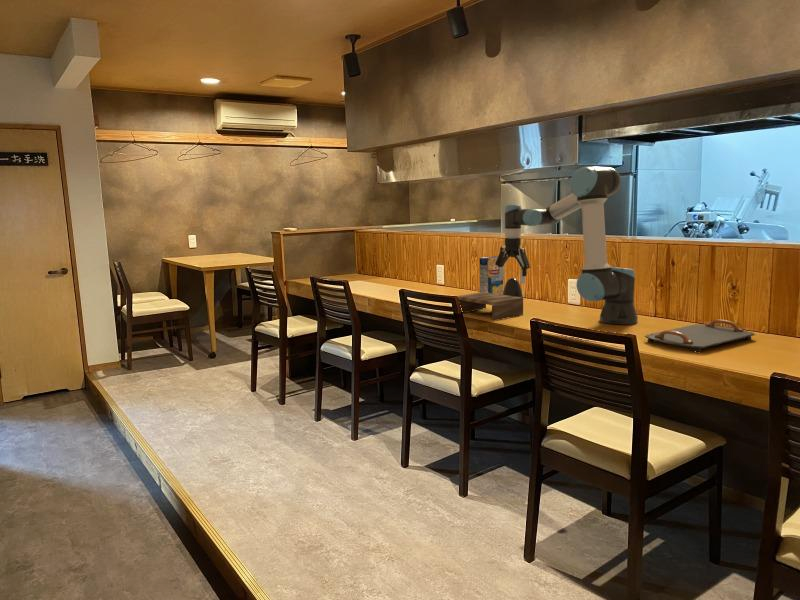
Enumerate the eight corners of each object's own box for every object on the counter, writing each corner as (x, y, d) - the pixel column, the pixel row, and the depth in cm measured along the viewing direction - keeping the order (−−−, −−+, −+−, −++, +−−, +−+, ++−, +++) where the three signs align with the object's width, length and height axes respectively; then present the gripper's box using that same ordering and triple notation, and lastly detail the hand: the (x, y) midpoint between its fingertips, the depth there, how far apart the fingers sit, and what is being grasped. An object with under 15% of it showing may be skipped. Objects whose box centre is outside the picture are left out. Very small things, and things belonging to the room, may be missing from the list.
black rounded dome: (522, 307, 296) (522, 276, 294) (524, 310, 286) (524, 279, 284) (501, 307, 297) (501, 276, 295) (502, 311, 287) (502, 279, 285)
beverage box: (479, 298, 326) (479, 257, 322) (494, 296, 332) (494, 256, 328) (488, 299, 320) (487, 258, 317) (503, 297, 326) (503, 257, 323)
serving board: (700, 329, 238) (701, 314, 237) (761, 340, 218) (762, 323, 217) (637, 344, 218) (638, 327, 217) (697, 356, 198) (698, 338, 197)
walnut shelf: (523, 314, 276) (523, 297, 274) (495, 320, 265) (495, 302, 264) (483, 307, 296) (483, 291, 295) (455, 312, 286) (455, 296, 285)
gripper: (538, 238, 278) (537, 283, 282) (499, 235, 298) (498, 278, 302) (527, 239, 274) (526, 285, 278) (488, 236, 294) (488, 279, 297)
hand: (512, 281), depth 290 cm, fingers open, 13 cm apart
